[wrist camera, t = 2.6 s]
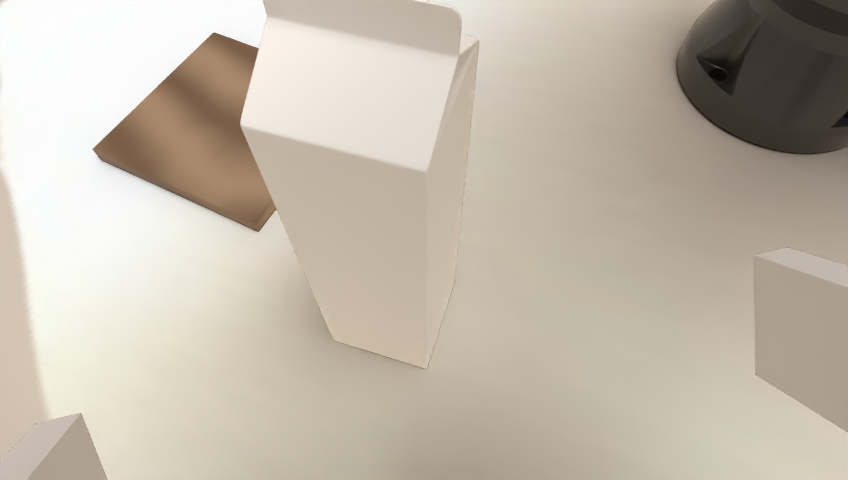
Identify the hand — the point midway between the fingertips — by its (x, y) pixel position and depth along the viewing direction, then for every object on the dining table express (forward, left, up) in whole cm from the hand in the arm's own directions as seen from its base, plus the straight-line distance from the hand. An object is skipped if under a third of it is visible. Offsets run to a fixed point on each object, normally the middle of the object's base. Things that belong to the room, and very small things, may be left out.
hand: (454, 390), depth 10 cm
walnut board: (-16, -25, -20) cm, 36 cm away
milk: (-8, -7, -21) cm, 23 cm away
